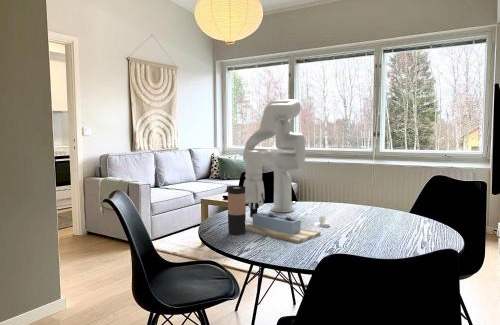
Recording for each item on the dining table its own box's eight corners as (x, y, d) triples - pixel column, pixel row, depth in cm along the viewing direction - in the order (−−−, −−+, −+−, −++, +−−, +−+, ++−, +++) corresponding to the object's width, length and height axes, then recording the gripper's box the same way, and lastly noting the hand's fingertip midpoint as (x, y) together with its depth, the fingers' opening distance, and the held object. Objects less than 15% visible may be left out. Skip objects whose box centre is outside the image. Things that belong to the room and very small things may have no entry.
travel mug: (224, 232, 165) (224, 186, 163) (238, 229, 170) (238, 185, 168) (235, 236, 159) (235, 188, 158) (249, 233, 164) (249, 187, 163)
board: (263, 222, 184) (263, 207, 183) (320, 234, 162) (320, 218, 161) (239, 228, 172) (239, 212, 171) (298, 243, 150) (298, 225, 150)
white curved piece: (331, 228, 174) (331, 219, 174) (313, 227, 176) (313, 218, 176) (331, 223, 183) (331, 215, 182) (314, 222, 185) (314, 214, 184)
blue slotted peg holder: (261, 222, 178) (261, 212, 177) (300, 231, 163) (300, 220, 162) (252, 225, 173) (252, 214, 173) (291, 234, 158) (292, 222, 158)
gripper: (236, 176, 177) (236, 215, 179) (260, 179, 167) (260, 221, 169) (247, 175, 183) (247, 213, 184) (271, 178, 172) (271, 218, 174)
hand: (253, 216), depth 176 cm, fingers closed
